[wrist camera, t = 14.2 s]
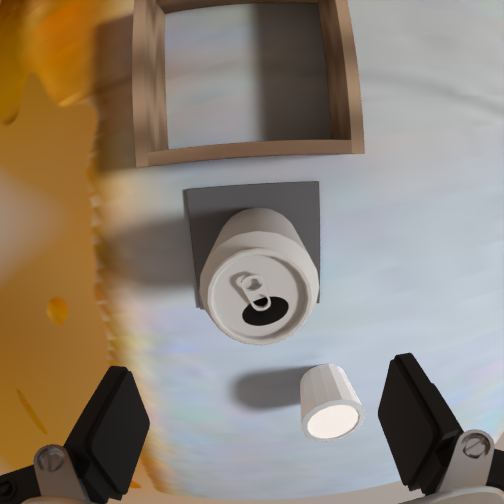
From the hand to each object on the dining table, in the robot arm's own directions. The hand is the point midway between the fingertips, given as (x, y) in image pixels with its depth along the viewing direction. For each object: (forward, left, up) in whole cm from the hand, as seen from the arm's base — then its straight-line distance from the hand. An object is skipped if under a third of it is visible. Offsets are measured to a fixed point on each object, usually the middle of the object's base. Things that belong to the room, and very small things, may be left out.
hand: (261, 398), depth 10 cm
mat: (0, 0, -20) cm, 20 cm away
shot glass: (+17, +7, -21) cm, 28 cm away
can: (0, 0, -20) cm, 20 cm away
